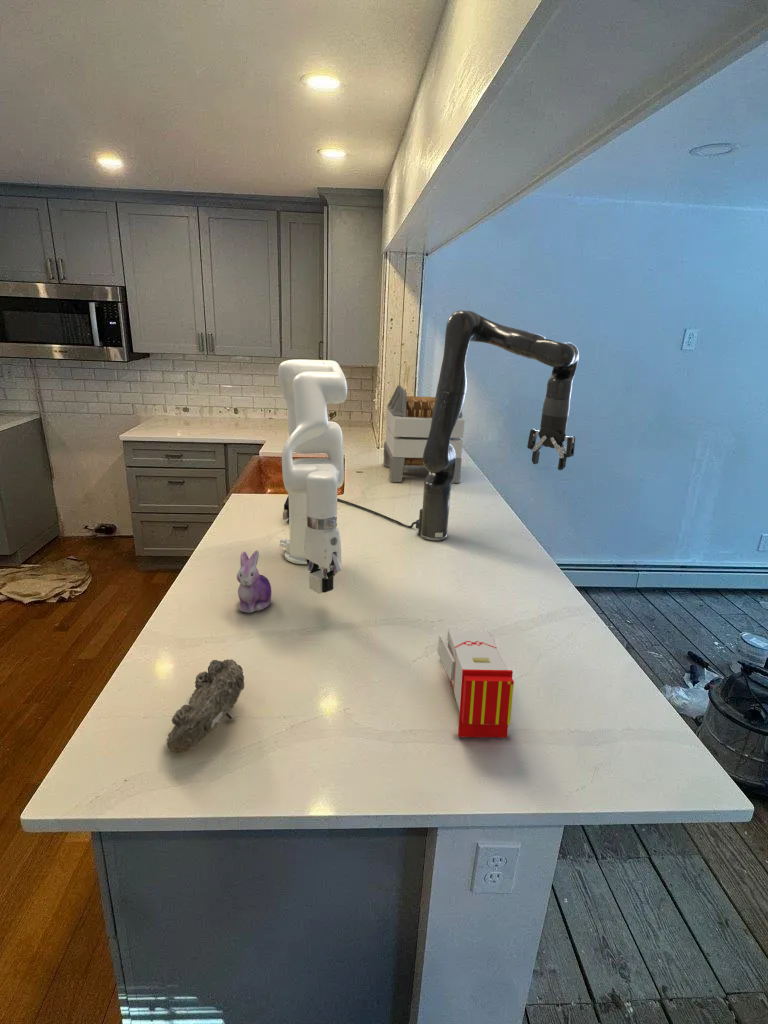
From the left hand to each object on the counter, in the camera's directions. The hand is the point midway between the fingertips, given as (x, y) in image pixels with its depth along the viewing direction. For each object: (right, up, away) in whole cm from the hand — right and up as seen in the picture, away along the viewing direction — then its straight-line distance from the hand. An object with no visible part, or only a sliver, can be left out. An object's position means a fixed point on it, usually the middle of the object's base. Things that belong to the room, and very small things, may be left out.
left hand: (321, 586), depth 147 cm
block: (0, 0, 0) cm, 0 cm away
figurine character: (-17, +17, +63) cm, 67 cm away
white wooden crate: (+33, +38, +128) cm, 138 cm away
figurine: (-18, -5, +2) cm, 18 cm away
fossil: (-17, -20, -38) cm, 46 cm away
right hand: (+66, +33, +25) cm, 78 cm away
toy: (+34, -18, -28) cm, 48 cm away
